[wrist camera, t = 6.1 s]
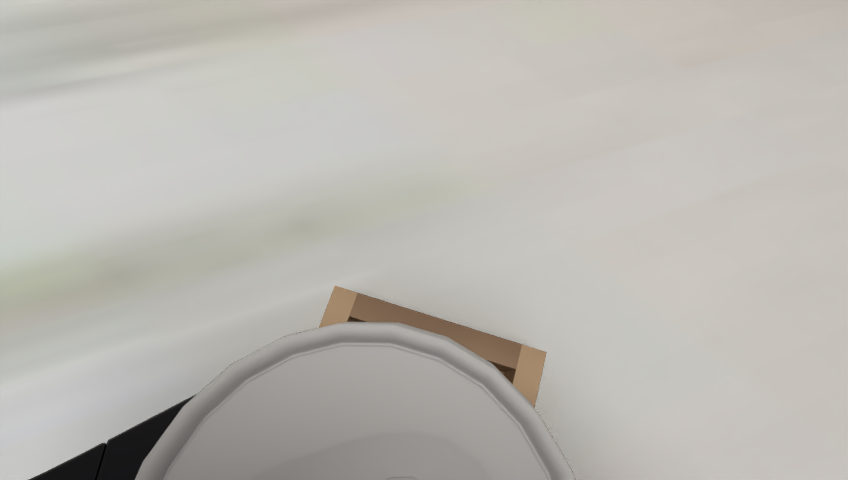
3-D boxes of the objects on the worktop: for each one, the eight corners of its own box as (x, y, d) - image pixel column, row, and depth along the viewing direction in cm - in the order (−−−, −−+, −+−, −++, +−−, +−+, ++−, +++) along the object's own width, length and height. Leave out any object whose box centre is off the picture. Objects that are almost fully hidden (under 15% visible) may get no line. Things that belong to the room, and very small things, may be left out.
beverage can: (312, 400, 16) (45, 411, 5) (439, 349, 16) (485, 246, 5) (356, 550, 14) (126, 1118, 3) (493, 487, 15) (725, 767, 4)
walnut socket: (478, 579, 18) (489, 613, 15) (269, 503, 19) (244, 522, 16) (529, 357, 21) (546, 352, 18) (345, 299, 22) (335, 285, 19)
